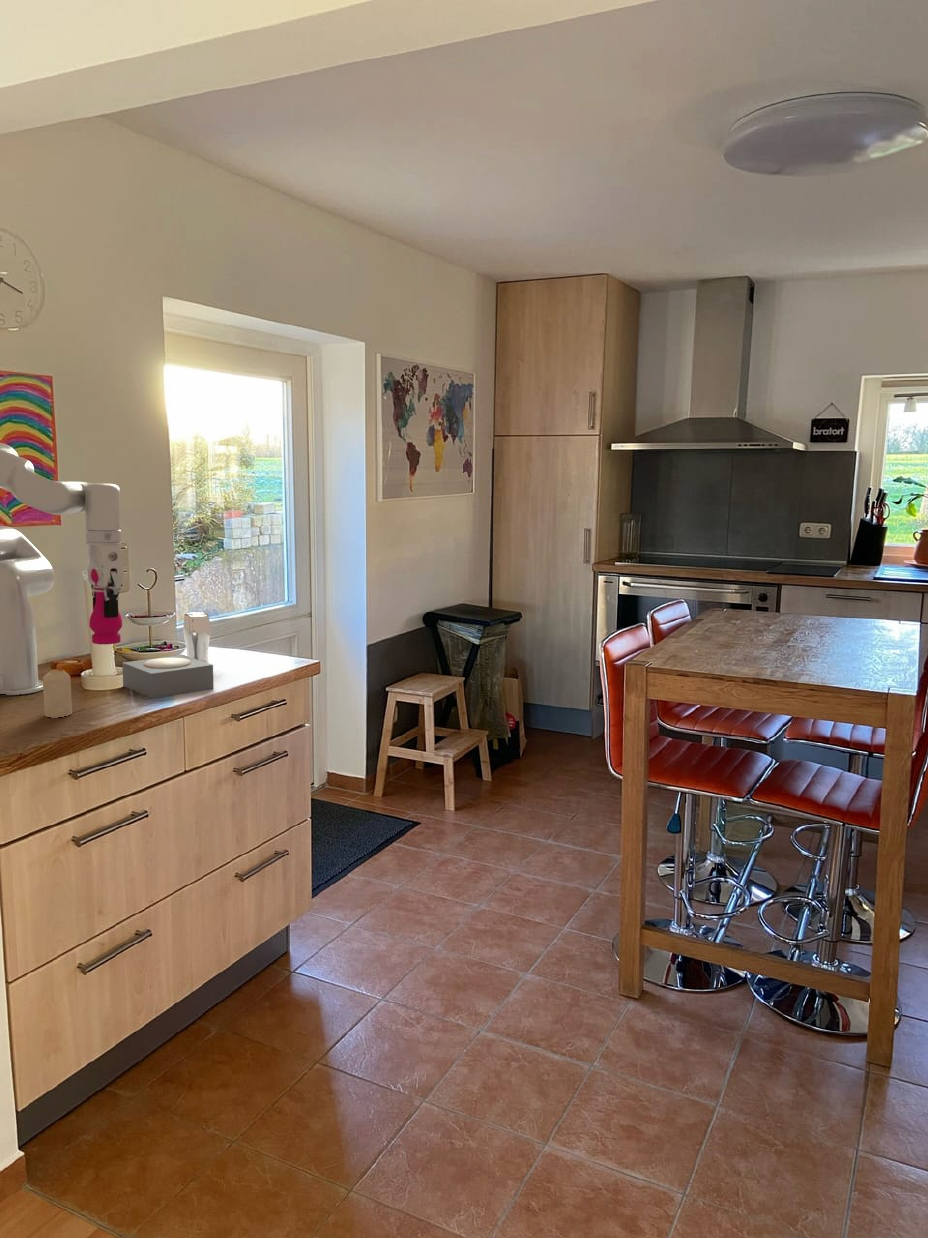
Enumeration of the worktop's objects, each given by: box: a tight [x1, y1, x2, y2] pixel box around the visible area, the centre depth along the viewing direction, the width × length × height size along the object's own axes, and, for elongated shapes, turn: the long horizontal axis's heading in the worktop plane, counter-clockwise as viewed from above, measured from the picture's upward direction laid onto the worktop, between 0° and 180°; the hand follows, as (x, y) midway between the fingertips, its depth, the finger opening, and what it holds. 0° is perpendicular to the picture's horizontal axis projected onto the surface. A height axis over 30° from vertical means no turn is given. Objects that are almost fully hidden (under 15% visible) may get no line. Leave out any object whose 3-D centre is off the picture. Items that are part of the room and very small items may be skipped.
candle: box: [42, 668, 73, 719], centre depth 196 cm, size 6×6×10 cm
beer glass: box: [183, 612, 211, 663], centre depth 245 cm, size 7×7×15 cm
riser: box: [121, 654, 215, 699], centre depth 224 cm, size 16×16×6 cm
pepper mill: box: [88, 569, 123, 646], centre depth 209 cm, size 7×7×20 cm
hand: (105, 614), depth 210 cm, fingers closed on pepper mill, 5 cm apart
